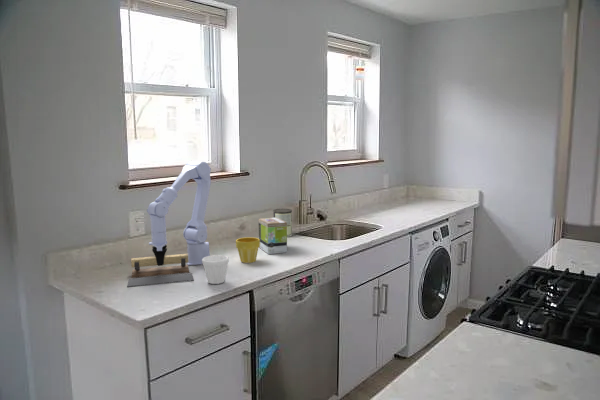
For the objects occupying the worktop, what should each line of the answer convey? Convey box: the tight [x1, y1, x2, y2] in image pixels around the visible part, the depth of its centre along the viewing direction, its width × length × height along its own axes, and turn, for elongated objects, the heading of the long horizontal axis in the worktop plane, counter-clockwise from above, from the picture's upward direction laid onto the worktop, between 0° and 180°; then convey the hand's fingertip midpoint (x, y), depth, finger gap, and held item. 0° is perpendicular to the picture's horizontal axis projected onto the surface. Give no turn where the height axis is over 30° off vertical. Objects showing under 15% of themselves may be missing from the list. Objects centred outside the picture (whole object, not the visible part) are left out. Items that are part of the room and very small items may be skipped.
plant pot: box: [235, 236, 260, 264], centre depth 203 cm, size 10×10×10 cm
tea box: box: [258, 217, 288, 255], centre depth 222 cm, size 15×10×15 cm
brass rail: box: [130, 253, 188, 268], centre depth 188 cm, size 22×3×3 cm, turn 107°
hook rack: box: [131, 256, 190, 279], centre depth 188 cm, size 22×8×6 cm, turn 107°
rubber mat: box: [126, 272, 194, 288], centre depth 178 cm, size 24×9×1 cm, turn 107°
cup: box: [202, 254, 229, 285], centre depth 175 cm, size 10×10×9 cm
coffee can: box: [272, 208, 293, 238], centre depth 254 cm, size 10×10×14 cm
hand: (160, 264), depth 188 cm, fingers closed on brass rail, 3 cm apart
